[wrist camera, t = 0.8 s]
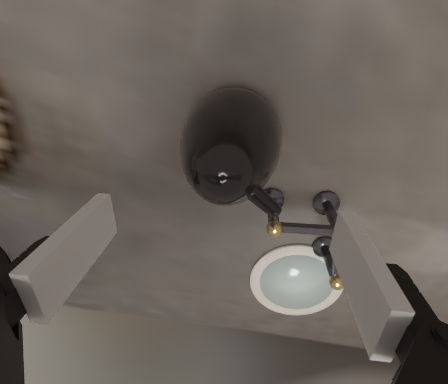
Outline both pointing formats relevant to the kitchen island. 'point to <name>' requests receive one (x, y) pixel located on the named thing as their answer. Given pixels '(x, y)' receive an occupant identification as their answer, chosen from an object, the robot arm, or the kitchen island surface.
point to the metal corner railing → (312, 228)
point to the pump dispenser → (232, 148)
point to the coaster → (292, 280)
